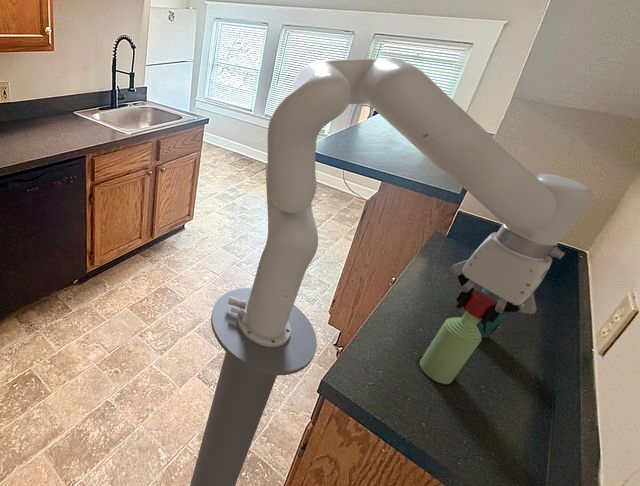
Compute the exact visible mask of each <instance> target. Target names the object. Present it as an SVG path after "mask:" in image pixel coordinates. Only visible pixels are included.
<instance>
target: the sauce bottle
mask: <svg viewBox="0 0 640 486" xmlns="http://www.w3.org/2000/svg"><path fill="white" fill-rule="evenodd" d="M481 319H482V318H477V317H475V316H473V315H471V314H469V313H468V312H467V311H466V310H465V312H464V313H463V314H462V316H461V317H456V316H455V317H450V318H449V317H448V318H447V319H445V320H444V322H443V324H442V325H441V327H440V328H439V330H438V331H437V334H436V335H435V336H434V338H433V339H432V341H431V343H430V344H429V346H428V347H427V349H426V351H425V352H424V354H423V356H422V357H421V359H420V360H419V367H420V369H421V371H423V373H424V374H425V375H426V376H427V377H428V378H430V379H431V380H433V381H434V382H436V383H440V384H443V385H449V384H452V382H453V381H454V380H455V378H456V377H457V375H459V373H460V371H461V370H462V368H463V367H464V366H465V364H466V363H467V361H468V360H469V359H470V357H471V356H472V354H473V353H474V351H476V349H477V347H478V346H479V345H480V343H481V342H482V337H481V334H480V332H479V330H478V328H477V326H476V325H477V324H478V323H479V321H480V320H481Z"/></svg>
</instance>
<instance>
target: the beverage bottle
mask: <svg viewBox="0 0 640 486" xmlns="http://www.w3.org/2000/svg"><path fill="white" fill-rule="evenodd" d="M480 291H481V292H484V293H486V294H488V295H489V296H491V297H492V298H493V299H494V300H495V302H496V304H497V302H498V299H499V296H497V295H496V294H494V293H492V292H490V291H489V290H487V289H485V288H483V287H482V289H481V290H480ZM508 313H509V312H502V313H501V314H500V315H499V316H498V317H497V319H496V320H495V321H494V322H493V323H491V322H490V321H488V322H487V323H486V324H485V325H483V324H482V323H481V321H482V319H483V318H482V319H481V320H480V321H479V323H478V324H477V325H476V326H477V328H478V330H479V332H480V334H481V338H489V337H490V336H493V334H494V333H495V331H496V330H497V329H498V327H499V326H500V325H501V324H502V322H503V319H504V318H505V317H506V316H507V315H508Z"/></svg>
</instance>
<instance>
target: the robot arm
mask: <svg viewBox="0 0 640 486" xmlns="http://www.w3.org/2000/svg"><path fill="white" fill-rule="evenodd" d="M363 104H364V105H365V104H369V105H370V107H372V108H373V109H374V111H375V112H376V113H377V114H379V115H380V116H381V117H382V118H383V119H384V120H385V121H386V122H387V123H388V124H389V125H390V126H392V127H393V128H394V129H395V130H396V131H397V132H399V133H400V135H402V136H403V137H404V138H405V139H406V140H407V141H408V142H409V143H410V144H412V146H414V147H415V148H416V149H417V150H418V151H419V152H420V153H421V154H423V155H424V156H425V157H426V159H428V160H429V161H430V162H431V163H432V164H433V165H434V166H436V167H437V168H438V169H440V170H441V171H443V173H445V174H446V175H448V176H449V177H451V178H452V179H453V180H454V181H455V182H457V183H458V184H459V185H460V186H461V187H463V189H465V190H466V191H467V192H468V193H469V194H470V195H471V197H473V198H474V199H476V200H477V202H478V203H480V204H481V205H482V206H483V207H484V208H486V210H487V211H489V213H491V214H492V215H493V216H494V217H495V218H496V219H497V220H499V221H500V223H502V224H501V226H500V227H499V229H498V231H497V232H496V231H495V232H492V233H490V234H489V235H488V236H487V237H486V238H485V239H484V240H483V242H481V243H480V245H478V247H477V248H476V249H475V250H474V252H473V253H472V254H471V256H470V257H469V258H468V259H466V260H463V261H460V262H457V263H454V264H452V266H451V270H452V272H453V273H454V274H455V276H457V279H458V281H459V284H460V286H461V287H460V290H461V292H460V293H459V295H458V296H457V298H456V299H455V301H456V302H457V304H456V306H455V308H456V309H460V310H461V309H462V308H464V307H463V305H464V303H465V302H466V301H467V299H468V298H469V296H470V295H471V293H472V291H475V287H476V286H477V285H478V286H480V287H482V289H483V288H485V289H487V290H489V291H490V292H492V293H494V294H496V295H497V296H499V299H498V302H497V304H495V306H494V307H492V308H491V309H490V310H489V311H488V312H487V314H486V315H485V317H484V318H483V319H482V321H481V323H482V324H483V325H485V324H486V323H487V322H488V321H490V322H491V323H493V322H494V321H495V320H496V319H497V317H498V316H499V315H500V314H501V313H502V312H508V313H520V314H521V313H522V314H528V315H534V314H535V313H536V312H537V305H536V298H535V292H536V290H537V289H538V288H539V286H540V284H541V283H542V282H543V280H544V278H545V277H546V275H547V273H548V272H549V269H550V267H551V265H552V262H553V258H555V259H556V258H557V259H559V260H561V259H562V258H563V257H564V256H565V254H566V252H564V251H562V250H561V249H560V248H559V246H558V245H559V242H560V241H561V240H562V239H563V238H564V237H565V235H566V233H568V231H569V229H570V228H571V227H572V226H573V224H574V223H575V222H576V221H577V219H578V218H579V217H580V215H581V214H582V213H583V211H584V210H585V209H586V208H587V206H588V205H589V203H590V202H591V200H592V198H593V192H592V191H593V190H591V189H590V187H588V186H587V185H585V184H583V183H581V182H579V181H577V180H574V179H571V178H568V177H565V176H562V175H558V174H552V173H539V172H535V171H532V170H529V169H528V168H527V167H525V166H524V165H523V164H522V163H521V162H520V161H519V160H518V159H517V158H515V157H514V156H513V155H512V154H511V153H509V151H507V150H506V149H505V147H503V145H501V144H500V143H499V142H498V141H497V140H496V139H495V138H494V137H493V136H492V135H491V134H490V133H489V132H488V131H487V130H486V129H485V128H484V127H482V126H481V125H480V124H479V123H478V122H477V121H475V119H473V117H471V116H470V115H469V114H468V113H467V112H466V111H465V110H464V109H462V108H461V106H460V105H459V104H458V103H456V102H455V101H454V99H452V98H451V97H450V96H449V95H448V94H447V93H446V92H445V91H444V90H443V89H441V87H439V86H438V85H437V83H435V82H434V81H433V80H432V79H431V78H430V77H429V76H428V75H427V74H426V73H425V72H423V71H422V70H421V69H420V68H418V67H416V66H414V65H413V64H410V63H408V62H406V61H404V60H403V59H400V58H396V57H388V56H387V57H366V58H351V59H350V58H348V59H346V58H345V59H324V60H323V59H322V60H317V61H313V62H310V63H308V64H306V65H304V66H303V67H302V68H301V69H300V70H299V71H298V72H297V74H296V75H295V77H294V81H293V91H291V92H290V93H289V94H288V95H287V96H285V97H284V98H283V99H282V100H281V102H280V103H279V104H278V105H277V106H276V108H275V109H274V111H273V113H272V115H271V116H270V119H269V121H268V127H267V162H266V165H265V185H266V204H267V236H266V242H265V245H264V248H263V250H262V253H261V256H260V258H259V262H258V266H257V268H256V272H255V277H254V279H253V284H252V287H251V288H252V290H251V294H250V297H248V299H247V301H246V300H243V301H241V300H238V299H237V298H234V297H231V296H230V297H229V301H228V304H230V305H233V306H232V308H231V312H234V313H238V316H237V323H238V326H239V328H240V330H241V331H242V333H243V334H244V335H245V336H246V337H247V338H248V339H250V340H251V341H253V342H255V343H256V344H259V345H262V346H266V347H278V346H281V345H283V344H285V343H286V342H287V341H288V339H289V337H290V334H291V326H290V323H289V321H288V319H289V316H290V313H291V310H292V307H293V305H295V302H296V300H297V296H298V294H299V291H300V289H301V285H302V282H303V279H304V277H305V274H306V273H307V269H308V267H309V266H310V264H311V262H312V261H313V259H314V257H315V255H316V254H317V250H318V246H319V233H318V228H317V225H316V220H315V217H314V213H313V208H312V203H313V200H314V199H315V196H316V191H317V177H316V153H317V139H318V136H319V133H321V131H322V129H324V127H326V125H328V124H329V123H331V122H333V121H334V120H335V119H336V118H338V117H340V116H341V115H342V114H343V113H344V112H345V111H346V110H347V108H348V107H349V105H363ZM234 306H237V307H240V309H239V308H237V307H234Z"/></svg>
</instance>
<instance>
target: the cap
mask: <svg viewBox="0 0 640 486" xmlns="http://www.w3.org/2000/svg"><path fill="white" fill-rule="evenodd" d="M481 291H482V290H474V291H472V293H471V295H470V296H469V298H468V299H467V301H466V302H465V303H464V305H463V307H462V308H463V309H464V310H465V311H467V312H468V313H469V314H471V315H473V316H475V317H477V318H484V317H485V315H486V314H487V312H488V311H489V310H490V309H491V308H492V307H494V306H495V304H496V302H495V300H494V299H493V298H492V297H491V296H489V295H488V294H486V293H484V292H481Z"/></svg>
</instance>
